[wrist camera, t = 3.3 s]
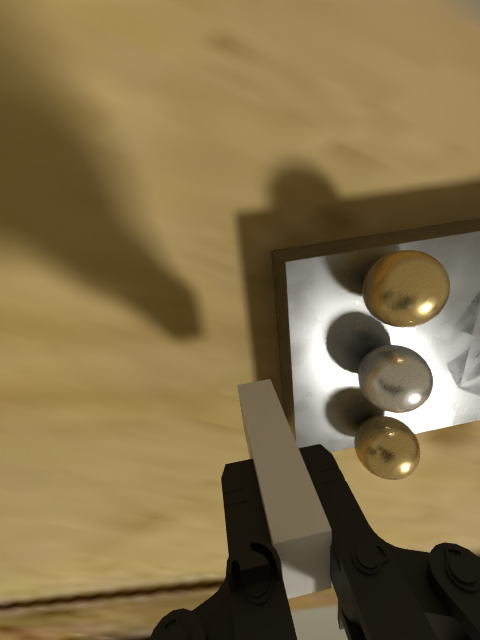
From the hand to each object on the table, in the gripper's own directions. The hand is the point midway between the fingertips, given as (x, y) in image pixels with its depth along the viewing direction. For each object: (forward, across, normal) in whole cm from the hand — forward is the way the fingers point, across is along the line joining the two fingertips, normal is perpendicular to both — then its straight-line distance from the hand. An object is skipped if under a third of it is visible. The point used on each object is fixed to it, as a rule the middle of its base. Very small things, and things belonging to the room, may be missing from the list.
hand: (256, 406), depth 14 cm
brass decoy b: (0, +7, +4) cm, 8 cm away
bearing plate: (+4, +11, 0) cm, 12 cm away
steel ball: (0, +7, 0) cm, 7 cm away
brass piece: (0, +7, -4) cm, 8 cm away
